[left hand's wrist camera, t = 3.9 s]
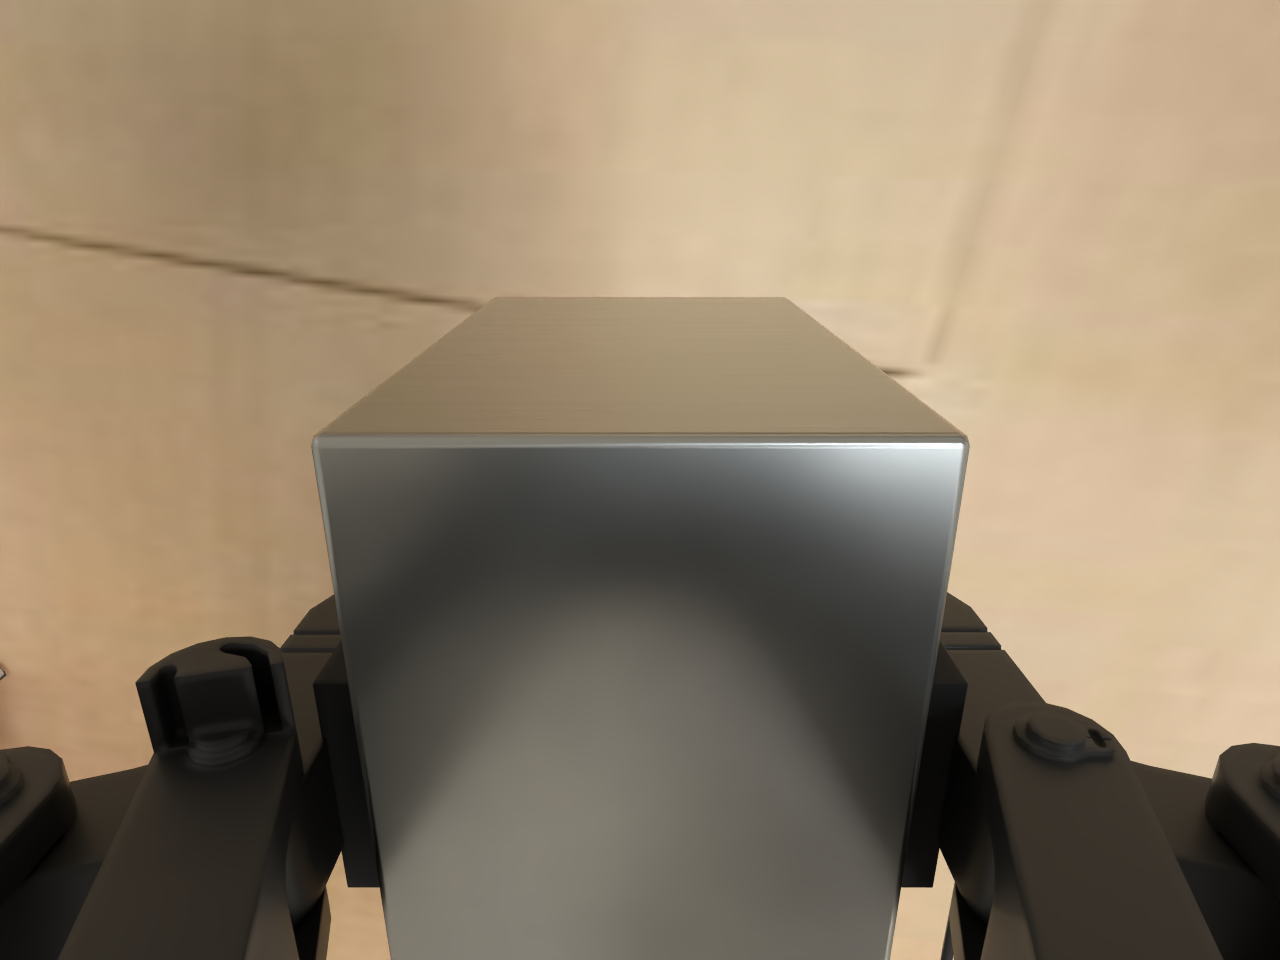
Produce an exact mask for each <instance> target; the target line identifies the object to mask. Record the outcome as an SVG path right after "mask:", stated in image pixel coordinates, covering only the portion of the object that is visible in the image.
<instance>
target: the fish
mask: <svg viewBox="0 0 1280 960" xmlns="http://www.w3.org/2000/svg"><path fill="white" fill-rule="evenodd" d="M5 676H6V674H5V672H4V671H3V670H2V669H1V668H0V680H1V679H2V678H3V677H5Z"/></svg>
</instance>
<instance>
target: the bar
mask: <svg viewBox="0 0 1280 960" xmlns="http://www.w3.org/2000/svg"><path fill="white" fill-rule="evenodd" d="M969 446H970V445H969V441H968V437H967V436H966V435H965V434H964V433H963V432H961V431H960V430H959V429H957V428H956V427H955V426H953V425H952V424H951V423H949V422H948V421H947V420H945V419H944V418H943V417H942V416H940V415H939V414H938V413H936V412H935V411H934V410H932V409H931V408H930V407H928V406H927V405H926V404H925V403H923V402H922V401H921V400H919V399H918V398H917V397H915V396H914V395H913V394H911V393H910V392H909V391H908V390H906V389H905V388H904V387H902V386H901V385H900V384H898V383H897V382H896V381H894V380H893V379H892V378H891V377H889V376H888V375H887V374H885V373H884V372H883V371H881V370H880V369H879V368H877V367H876V366H875V365H874V364H872V363H871V362H870V361H868V360H867V359H866V358H864V357H863V356H862V355H860V354H859V353H858V352H857V351H855V350H854V349H853V348H851V347H850V346H849V345H847V344H846V343H845V342H843V341H842V340H841V339H840V338H838V337H837V336H836V335H834V334H833V333H832V332H830V331H829V330H828V329H826V328H825V327H824V326H823V325H821V324H820V323H819V322H817V321H816V320H815V319H813V318H812V317H811V316H809V315H808V314H807V313H806V312H804V311H803V310H802V309H800V308H799V307H798V306H796V305H795V304H794V303H792V302H791V301H790V300H789V299H787V298H784V297H496V298H494V299H492V300H491V301H489V302H488V303H487V304H485V305H484V306H483V307H482V308H480V309H479V310H478V311H476V312H475V313H474V314H472V315H471V316H470V317H469V318H467V319H466V320H465V321H463V322H462V323H461V324H459V325H458V326H457V327H455V328H454V329H453V330H452V331H450V332H449V333H448V334H446V335H445V336H444V337H442V338H441V339H440V340H439V341H437V342H436V343H435V344H433V345H432V346H431V347H429V348H428V349H427V350H425V351H424V352H423V353H422V354H420V355H419V356H418V357H416V358H415V359H414V360H412V361H411V362H410V363H408V364H407V365H406V366H405V367H403V368H402V369H401V370H399V371H398V372H397V373H395V374H394V375H393V376H392V377H390V378H389V379H388V380H386V381H385V382H384V383H382V384H381V385H380V386H378V387H377V388H376V389H375V390H373V391H372V392H371V393H369V394H368V395H367V396H365V397H364V398H363V399H362V400H360V401H359V402H358V403H356V404H355V405H354V406H352V407H351V408H350V409H348V410H347V411H346V412H345V413H343V414H342V415H341V416H339V417H338V418H337V419H335V420H334V421H333V422H332V423H330V424H329V425H328V426H326V427H325V428H324V429H322V430H321V431H320V432H318V433H317V434H316V435H315V436H314V438H313V441H312V453H313V459H314V466H315V472H316V479H317V485H318V491H319V498H320V504H321V511H322V517H323V524H324V530H325V537H326V543H327V550H328V556H329V562H330V569H331V575H332V582H333V588H334V595H335V601H336V608H337V614H338V621H339V627H340V633H341V640H342V646H343V653H344V659H345V666H346V672H347V679H348V685H349V692H350V698H351V704H352V711H353V717H354V724H355V730H356V737H357V743H358V750H359V756H360V763H361V769H362V775H363V782H364V788H365V795H366V801H367V808H368V814H369V821H370V827H371V834H372V840H373V846H374V853H375V859H376V866H377V872H378V879H379V885H380V892H381V898H382V905H383V911H384V918H385V924H386V930H387V937H388V943H389V950H390V956H391V960H890V955H891V948H892V942H893V935H894V929H895V922H896V916H897V910H898V903H899V897H900V890H901V884H902V877H903V871H904V865H905V858H906V852H907V845H908V839H909V832H910V826H911V820H912V813H913V807H914V800H915V794H916V787H917V781H918V775H919V768H920V762H921V755H922V749H923V742H924V736H925V730H926V723H927V717H928V710H929V704H930V697H931V691H932V685H933V678H934V672H935V665H936V659H937V653H938V646H939V640H940V633H941V627H942V620H943V614H944V608H945V601H946V595H947V588H948V582H949V575H950V569H951V563H952V556H953V550H954V543H955V537H956V530H957V524H958V518H959V511H960V505H961V498H962V492H963V485H964V479H965V473H966V466H967V460H968V453H969Z"/></svg>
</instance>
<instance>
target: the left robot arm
mask: <svg viewBox="0 0 1280 960" xmlns="http://www.w3.org/2000/svg"><path fill="white" fill-rule="evenodd" d="M136 687H137V691H138V694H139V698H140V702H141V705H142V709H143V713H144V717H145V720H146V724H147V728H148V732H149V735H150V739H151V743H152V747H153V750H154V754H153V756H152V758H151V760H150V763H149V765H145V766H142V767H138V768H134V769H130V770H125V771H120V772H116V773H111V774H106V775H101V776H96V777H92V778H87V779H82V780H77V781H72V782H69V779H68V776H67V773H66V770H65V766H64V763H63V760H62V758H60V757H59V756H58V755H56V754H55V753H54V752H53V751H51V750H50V749H43V748H36V747H29V746H28V747H20V748H12V749H4V750H0V960H326V957H327V948H328V940H329V932H330V923H331V914H330V907H329V900H328V895H327V889H326V884H327V881H328V879H329V877H330V875H331V872H332V870H333V868H334V866H335V864H336V861H337V859H338V857H339V855H340V852H341V850H342V856H343V862H344V868H345V873H346V879H347V885H348V887H380V885H379V879H378V872H377V866H376V859H375V853H374V846H373V840H372V834H371V827H370V821H369V814H368V808H367V801H366V795H365V788H364V782H363V775H362V769H361V763H360V756H359V750H358V743H357V737H356V730H355V724H354V717H353V711H352V704H351V698H350V692H349V685H348V679H347V672H346V666H345V659H344V653H343V646H342V640H341V633H340V627H339V621H338V614H337V608H336V601H335V595H332V596H331V597H329V598H328V599H326V600H325V601H323V602H322V603H320V604H318V605H317V606H315V607H314V608H312V609H311V610H310V611H309V612H308V613H307V614H306V616H305V617H304V618H303V620H302V621H301V622H300V623H299V625H298V626H297V627H296V629H295V630H294V635H290V636H289V638H288V639H287V640H286V641H285V643H284V644H283V645H282V647H281V648H279V647H277V646H276V645H275V644H274V643H272V642H271V641H268V640H264V639H259V638H255V637H226V638H221V639H216V640H212V641H207V642H202V643H198V644H195V645H193V646H190V647H188V648H185V649H182V650H180V651H177V652H175V653H172V654H170V655H169V656H167V657H165V658H164V659H162V660H161V661H159V662H157V663H156V664H154V665H152V666H151V667H149V668H148V670H147V671H146V672H145V673H144V674H143V675H142V676H141V677H140V678H139V679H138V681H137V682H136ZM939 848H940V849H941V852H942V854H943V856H944V858H945V861H946V863H947V865H948V867H949V869H950V872H951V874H952V876H953V878H954V880H955V884H954V889H953V895H952V900H951V906H950V911H949V916H948V922H947V927H946V932H945V938H944V943H943V948H942V954H941V960H953V955H954V960H1280V746H1274V745H1266V744H1258V743H1250V744H1243V745H1235V746H1231V747H1230V748H1229V749H1227V750H1226V751H1225V752H1223V753H1222V754H1221V755H1220V756H1219V759H1218V762H1217V766H1216V769H1215V772H1214V775H1213V778H1212V779H1211V778H1206V777H1201V776H1196V775H1191V774H1186V773H1182V772H1177V771H1172V770H1167V769H1162V768H1157V767H1153V766H1148V765H1144V764H1141V763H1137V762H1133V761H1130V759H1129V757H1128V755H1127V753H1126V751H1125V750H1124V748H1123V747H1122V746H1121V744H1120V743H1119V742H1118V740H1117V739H1116V738H1115V737H1114V735H1113V734H1111V733H1110V732H1109V731H1107V730H1106V729H1104V728H1103V727H1102V726H1100V725H1099V724H1097V723H1096V722H1095V721H1093V720H1092V719H1090V718H1087V717H1085V716H1083V715H1081V714H1078V713H1076V712H1074V711H1072V710H1069V709H1067V708H1063V707H1059V706H1055V705H1051V704H1047V703H1046V702H1045V701H1044V700H1043V699H1042V697H1041V696H1040V695H1039V693H1038V692H1037V691H1036V690H1035V688H1034V687H1033V686H1032V685H1031V683H1030V682H1029V681H1028V679H1027V678H1026V677H1025V676H1024V674H1023V673H1022V672H1021V671H1020V669H1019V668H1018V667H1017V665H1016V664H1015V663H1014V662H1013V660H1012V659H1011V658H1010V657H1009V655H1008V654H1007V653H1006V651H1005V650H1001V645H1000V644H999V642H998V641H997V640H996V639H995V637H994V636H993V635H992V634H991V632H987V627H986V626H985V625H984V623H983V622H982V621H981V620H980V618H979V617H978V616H977V614H976V613H975V612H974V611H973V609H972V608H971V607H970V606H968V605H967V604H965V603H963V602H962V601H960V600H959V599H957V598H956V597H954V596H952V595H951V594H949V593H948V592H947V595H946V601H945V608H944V614H943V620H942V627H941V633H940V640H939V646H938V653H937V659H936V665H935V672H934V678H933V685H932V691H931V697H930V704H929V710H928V717H927V723H926V730H925V736H924V742H923V749H922V755H921V762H920V768H919V775H918V781H917V787H916V794H915V800H914V807H913V813H912V820H911V826H910V832H909V839H908V845H907V852H906V858H905V865H904V871H903V877H902V884H901V887H933V882H934V876H935V871H936V865H937V859H938V853H939Z"/></svg>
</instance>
